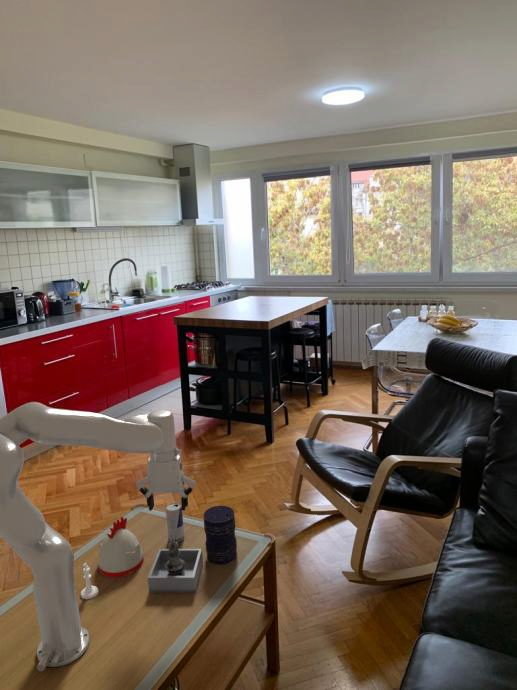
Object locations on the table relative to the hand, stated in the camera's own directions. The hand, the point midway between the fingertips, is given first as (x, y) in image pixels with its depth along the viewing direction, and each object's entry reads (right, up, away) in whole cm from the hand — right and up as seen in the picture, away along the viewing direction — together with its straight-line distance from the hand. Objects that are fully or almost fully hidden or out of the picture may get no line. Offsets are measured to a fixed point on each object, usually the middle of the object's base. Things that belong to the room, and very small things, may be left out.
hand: (168, 508), depth 152 cm
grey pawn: (+2, -22, +5) cm, 23 cm away
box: (+2, -23, +6) cm, 23 cm away
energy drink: (-1, -18, +26) cm, 32 cm away
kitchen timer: (-17, -22, +14) cm, 31 cm away
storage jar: (+15, -20, +15) cm, 29 cm away
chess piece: (-23, -25, +1) cm, 34 cm away
